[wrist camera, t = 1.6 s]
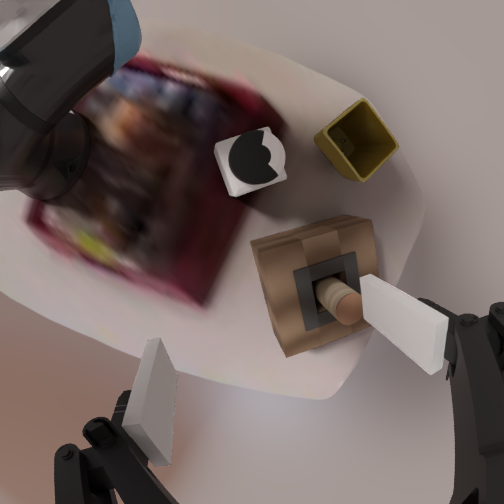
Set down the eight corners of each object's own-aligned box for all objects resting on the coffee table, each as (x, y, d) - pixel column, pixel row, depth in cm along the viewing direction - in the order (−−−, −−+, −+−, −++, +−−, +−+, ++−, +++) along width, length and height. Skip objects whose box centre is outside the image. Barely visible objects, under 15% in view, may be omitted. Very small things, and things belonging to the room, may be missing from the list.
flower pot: (334, 184, 43) (363, 184, 34) (299, 141, 41) (321, 130, 32) (368, 152, 43) (400, 146, 34) (336, 110, 40) (363, 96, 32)
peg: (310, 279, 39) (334, 300, 31) (336, 270, 39) (364, 288, 31) (315, 304, 39) (338, 329, 32) (340, 296, 40) (367, 318, 32)
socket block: (250, 241, 43) (260, 253, 35) (345, 214, 44) (373, 220, 36) (273, 332, 47) (287, 359, 38) (358, 302, 48) (383, 321, 40)
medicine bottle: (229, 196, 41) (238, 198, 29) (213, 151, 39) (215, 135, 28) (275, 180, 41) (301, 177, 30) (259, 135, 40) (279, 115, 28)
